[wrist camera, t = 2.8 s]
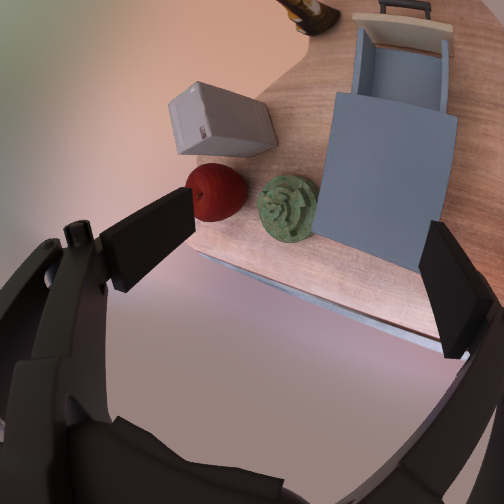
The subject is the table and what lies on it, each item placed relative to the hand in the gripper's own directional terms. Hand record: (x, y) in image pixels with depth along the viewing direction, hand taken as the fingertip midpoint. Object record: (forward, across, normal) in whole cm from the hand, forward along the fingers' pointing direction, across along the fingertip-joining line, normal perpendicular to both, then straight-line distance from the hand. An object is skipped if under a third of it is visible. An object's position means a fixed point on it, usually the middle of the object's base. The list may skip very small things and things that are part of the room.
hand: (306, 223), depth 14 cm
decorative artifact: (+27, -5, -9) cm, 29 cm away
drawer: (+25, +10, +14) cm, 30 cm away
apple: (+31, -16, -8) cm, 36 cm away
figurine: (+32, -2, +22) cm, 39 cm away
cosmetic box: (+32, -12, +2) cm, 34 cm away
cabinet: (+23, +9, -2) cm, 25 cm away
